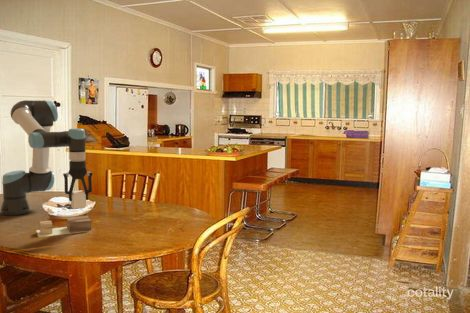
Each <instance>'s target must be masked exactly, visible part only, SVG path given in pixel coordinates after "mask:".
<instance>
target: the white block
mask: <svg viewBox="0 0 470 313" xmlns="http://www.w3.org/2000/svg"><path fill="white" fill-rule="evenodd" d="M72 194H73V196H74V208H73V210H78V209H79V210H81V209H85V208H86V207H85V191H84V189H83V190H73V192H72Z"/></svg>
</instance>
